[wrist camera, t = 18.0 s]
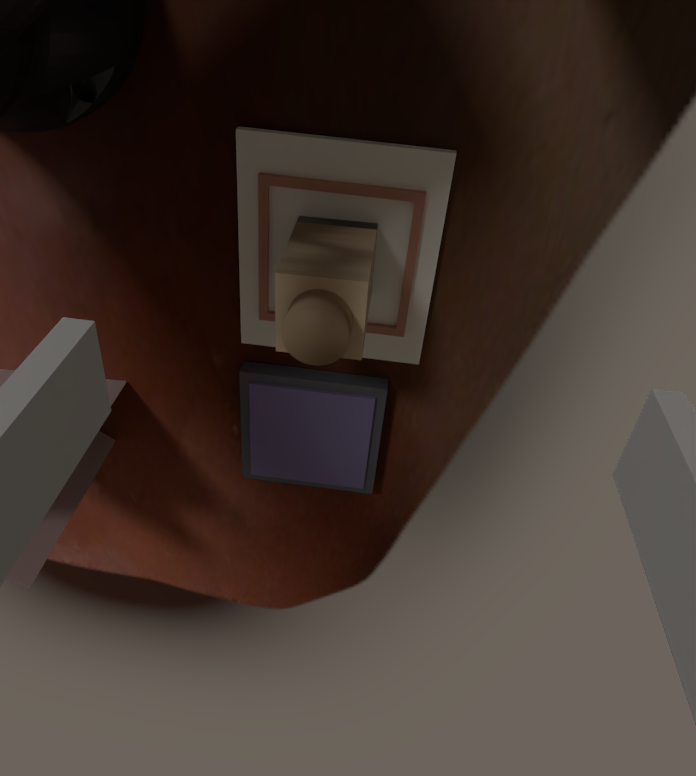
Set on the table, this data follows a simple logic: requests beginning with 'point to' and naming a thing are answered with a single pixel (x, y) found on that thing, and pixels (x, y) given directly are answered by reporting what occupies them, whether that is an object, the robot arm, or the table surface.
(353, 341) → the stamp
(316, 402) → the ink pad
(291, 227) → the print sheet
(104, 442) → the greeting card
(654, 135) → the table surface
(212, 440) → the table surface
